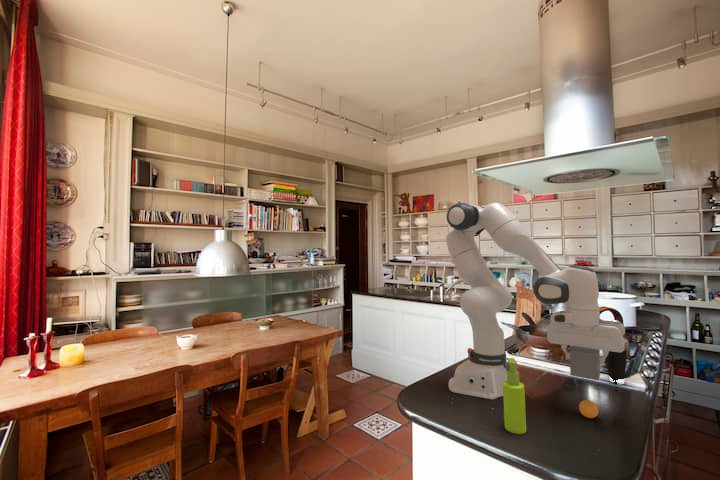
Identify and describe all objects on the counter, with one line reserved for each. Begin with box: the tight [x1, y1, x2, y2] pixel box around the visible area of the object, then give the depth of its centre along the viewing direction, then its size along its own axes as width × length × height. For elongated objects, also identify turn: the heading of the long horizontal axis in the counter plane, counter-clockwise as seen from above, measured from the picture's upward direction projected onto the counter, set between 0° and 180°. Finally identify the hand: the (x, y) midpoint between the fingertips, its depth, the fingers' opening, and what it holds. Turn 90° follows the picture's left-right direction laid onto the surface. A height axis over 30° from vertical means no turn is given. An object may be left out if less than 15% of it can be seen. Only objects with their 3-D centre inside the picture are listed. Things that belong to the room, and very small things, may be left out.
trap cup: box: [568, 346, 602, 381], centre depth 108 cm, size 7×7×8 cm
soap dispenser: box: [502, 357, 527, 435], centre depth 102 cm, size 6×7×20 cm
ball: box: [578, 399, 599, 419], centre depth 106 cm, size 5×5×5 cm
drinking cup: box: [605, 345, 629, 386], centre depth 131 cm, size 8×8×20 cm
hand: (584, 361), depth 107 cm, fingers closed on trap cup, 7 cm apart
